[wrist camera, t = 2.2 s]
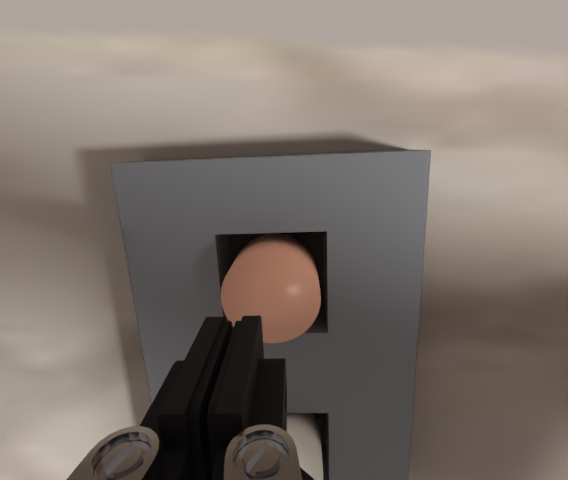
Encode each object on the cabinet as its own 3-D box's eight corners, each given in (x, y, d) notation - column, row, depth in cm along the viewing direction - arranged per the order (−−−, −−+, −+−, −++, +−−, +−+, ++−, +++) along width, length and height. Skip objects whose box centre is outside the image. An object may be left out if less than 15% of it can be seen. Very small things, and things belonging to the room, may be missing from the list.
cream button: (319, 399, 20) (322, 442, 17) (320, 459, 21) (324, 509, 18) (244, 399, 20) (235, 442, 17) (249, 458, 21) (241, 508, 18)
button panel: (409, 149, 17) (431, 150, 14) (385, 587, 26) (396, 643, 23) (140, 160, 18) (110, 163, 15) (203, 581, 27) (191, 635, 24)
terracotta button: (317, 232, 17) (320, 249, 14) (318, 311, 18) (321, 342, 15) (230, 234, 17) (216, 252, 14) (237, 312, 19) (225, 343, 16)
